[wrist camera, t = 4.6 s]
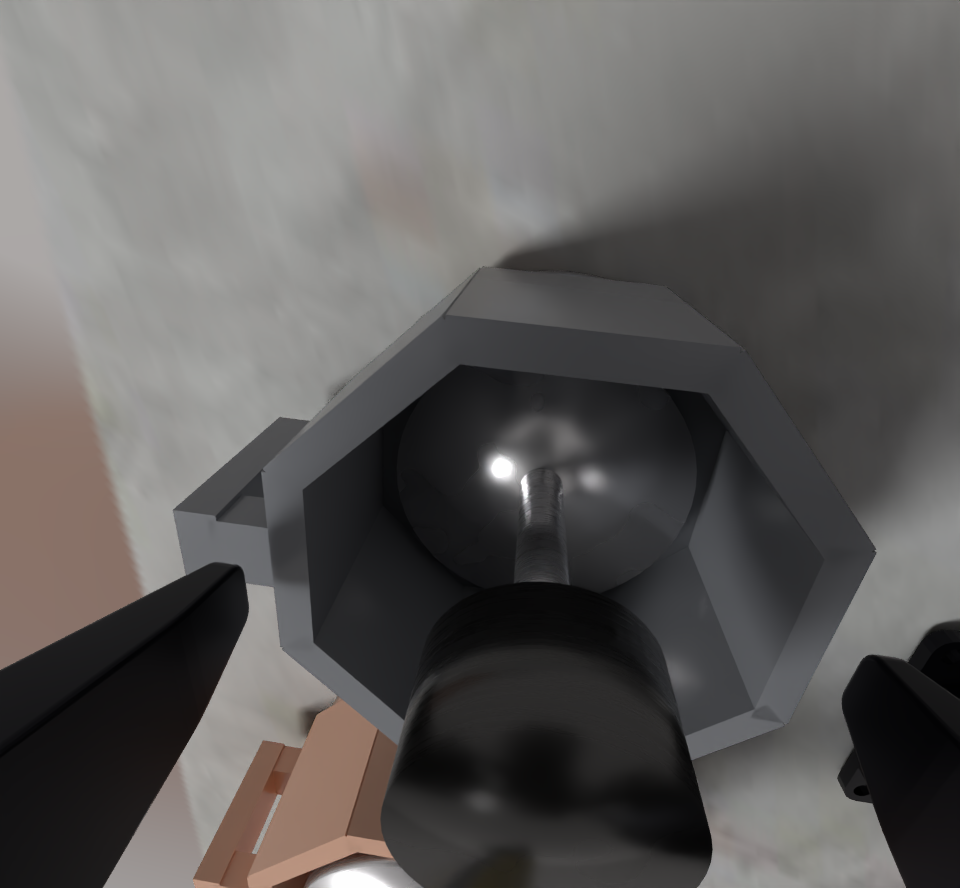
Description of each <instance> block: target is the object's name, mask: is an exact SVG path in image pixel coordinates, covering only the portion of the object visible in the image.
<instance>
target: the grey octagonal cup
mask: <svg viewBox="0 0 960 888" xmlns="http://www.w3.org/2000/svg"><path fill="white" fill-rule="evenodd" d="M460 364H461V365H470V366H478V367H487V368H496V369H504V370H513V371H521V372H530V373H538V374H547V375H555V376H564V377H572V378H581V379H589V380H598V381H607V382H615V383H624V384H632V385H641V386H649V387H658V388H664V389H665V390H666V391H667V392H668V394H669V395H670V397H671V398H672V400H673V402H674V403H675V405H676V406H677V408H678V410H679V411H680V413H681V415H682V416H683V418H684V420H685V422H686V425H687V427H688V430H689V432H690V434H691V437H692V442H693V446H694V450H695V454H696V466H697V477H696V489H695V494H694V498H693V502H692V506H691V509H690V511H689V514H688V516H687V519H686V521H685V523H684V525H683V527H682V529H681V530H680V532H679V534H678V536H677V537H676V538H675V540H674V541H673V542H672V544H671V545H670V546H669V548H668V549H667V550H666V551H665V552H664V553H663V554H662V555H661V556H660V557H659V558H658V559H657V560H656V561H655V562H654V563H653V564H652V565H650V566H649V567H648V568H646V569H645V570H644V571H643V572H641V573H640V574H638V575H637V576H635V577H633V578H632V579H630V580H628V581H627V582H625V583H623V584H620V585H618V586H616V587H614V588H612V589H610V590H607V591H604V592H601V593H599V594H601V595H603V596H606V597H608V598H610V599H612V600H614V601H615V602H617V603H619V604H621V605H622V606H624V607H625V608H627V609H628V610H629V611H631V612H632V613H633V614H635V615H636V616H637V617H638V618H639V619H640V620H641V621H642V622H643V623H644V624H645V625H646V626H647V627H648V628H649V629H650V631H651V632H652V633H653V635H654V636H655V637H656V639H657V641H658V643H659V645H660V647H661V649H662V651H663V654H664V657H665V660H666V664H667V668H668V672H669V676H670V680H671V683H672V687H673V691H674V695H675V699H676V703H677V707H678V710H679V714H680V718H681V722H682V726H683V730H684V733H685V737H686V741H687V745H688V749H689V753H690V757H691V760H694V759H696V758H699V757H702V756H704V755H707V754H710V753H713V752H715V751H718V750H721V749H723V748H726V747H729V746H732V745H734V744H737V743H740V742H742V741H745V740H748V739H751V738H753V737H756V736H759V735H761V734H764V733H767V732H770V731H772V730H775V729H778V728H780V727H783V726H785V724H784V723H786V724H788V722H789V720H790V718H791V717H792V715H793V713H794V711H795V709H796V707H797V705H798V703H799V701H800V699H801V697H802V695H803V693H804V691H805V690H806V688H807V686H808V684H809V682H810V680H811V678H812V676H813V674H814V672H815V670H816V668H817V666H818V665H819V663H820V661H821V659H822V657H823V655H824V653H825V651H826V649H827V647H828V645H829V643H830V641H831V640H832V638H833V636H834V634H835V632H836V630H837V628H838V626H839V624H840V622H841V620H842V618H843V616H844V614H845V613H846V611H847V609H848V607H849V605H850V603H851V601H852V599H853V597H854V595H855V593H856V591H857V589H858V588H859V586H860V584H861V582H862V580H863V578H864V576H865V574H866V572H867V570H868V568H869V566H870V564H871V563H872V561H873V559H874V557H875V555H876V552H875V551H874V550H876V548H875V546H874V545H873V543H872V542H871V540H870V539H869V537H868V536H867V534H866V533H865V531H864V530H863V528H862V527H861V525H860V524H859V522H858V521H857V519H856V517H855V516H854V514H853V513H852V511H851V510H850V508H849V507H848V505H847V504H846V502H845V501H844V499H843V498H842V496H841V495H840V493H839V492H838V490H837V488H836V487H835V485H834V484H833V482H832V481H831V479H830V478H829V476H828V475H827V473H826V472H825V470H824V469H823V467H822V466H821V464H820V463H819V461H818V459H817V458H816V456H815V455H814V453H813V452H812V450H811V449H810V447H809V446H808V444H807V443H806V441H805V440H804V438H803V437H802V435H801V434H800V432H799V430H798V429H797V427H796V426H795V424H794V423H793V421H792V420H791V418H790V417H789V415H788V414H787V412H786V411H785V409H784V408H783V406H782V405H781V403H780V402H779V400H778V398H777V397H776V395H775V394H774V392H773V391H772V389H771V388H770V386H769V385H768V383H767V382H766V380H765V379H764V377H763V376H762V374H761V373H760V371H759V369H758V368H757V366H756V365H755V363H754V362H753V360H752V359H751V357H750V356H749V354H748V353H747V351H746V350H745V349H744V348H743V347H741V346H740V345H739V344H738V343H736V342H735V341H734V340H733V339H731V338H730V337H729V336H728V335H726V334H725V333H724V332H723V331H721V330H720V329H719V328H718V327H716V326H715V325H714V324H712V323H711V322H710V321H709V320H707V319H706V318H705V317H704V316H702V315H701V314H700V313H699V312H697V311H696V310H695V309H694V308H692V307H691V306H690V305H689V304H687V303H686V302H685V301H684V300H682V299H681V298H680V297H679V296H677V295H676V294H675V293H674V292H672V291H671V290H670V289H669V288H667V287H665V286H663V285H654V284H644V283H635V282H626V281H616V280H608V279H605V278H602V277H599V276H594V275H588V274H582V273H577V272H571V271H544V270H543V271H533V272H531V271H522V270H512V269H503V268H494V267H484V266H483V267H482V268H479V269H477V270H476V271H475V272H474V273H473V274H472V275H470V276H469V277H468V278H467V279H466V280H465V281H464V282H462V283H461V284H460V285H459V286H458V287H457V288H456V289H454V290H453V291H452V292H451V293H450V294H449V295H447V296H446V297H445V298H444V299H443V300H442V301H441V302H439V303H438V304H437V305H436V306H435V307H434V308H432V309H431V310H430V311H429V312H427V313H426V314H425V315H423V316H422V317H421V318H420V319H419V320H418V321H417V322H416V323H415V324H414V325H413V326H412V327H411V328H409V329H408V330H407V331H406V332H405V333H404V334H403V335H401V336H400V337H399V338H398V339H397V340H396V341H394V342H393V343H392V344H391V345H390V346H389V347H388V348H386V349H385V350H384V351H383V352H382V353H381V354H380V355H378V356H377V357H376V358H375V359H374V360H373V361H371V362H370V363H369V364H368V365H367V366H366V367H365V368H363V369H362V370H361V371H360V372H359V373H358V374H357V375H356V376H355V377H354V378H353V379H352V380H351V381H350V382H349V383H348V384H347V385H346V386H345V387H344V388H343V389H342V390H341V391H340V392H339V393H338V394H337V395H336V396H335V397H334V398H333V399H332V400H331V401H330V402H329V403H328V404H327V405H326V406H325V407H324V408H323V409H322V410H321V411H320V412H319V413H318V414H317V415H316V416H315V417H314V418H313V419H312V420H311V421H306V420H298V419H290V418H282V417H279V418H278V419H277V420H276V421H275V422H274V423H272V424H271V425H270V426H269V427H268V428H267V429H266V430H264V431H263V432H262V433H261V434H260V435H259V436H257V437H256V438H255V439H254V440H253V441H252V442H251V443H249V444H248V445H247V446H246V447H245V448H244V449H243V450H241V451H240V452H239V453H238V454H237V455H236V456H234V457H233V458H232V459H231V460H230V461H229V462H228V463H226V464H225V465H224V466H223V467H222V468H221V469H219V470H218V471H217V472H216V473H215V474H214V475H213V476H211V477H210V478H209V479H208V480H207V481H206V482H205V483H203V484H202V485H201V486H200V487H199V488H198V489H196V490H195V491H194V492H193V493H192V494H191V495H190V496H188V497H187V498H186V499H185V500H184V501H183V502H182V503H180V504H179V505H178V506H177V507H176V508H175V509H173V513H174V518H175V523H176V528H177V533H178V538H179V543H180V548H181V553H182V558H183V563H184V568H185V573H186V575H187V574H189V573H191V572H193V571H195V570H197V569H199V568H201V567H203V566H205V565H207V564H209V563H212V562H223V563H230V564H237V565H239V566H241V567H242V569H243V571H244V575H245V582H246V583H249V584H255V585H262V586H269V587H274V593H275V602H276V611H277V620H278V629H279V638H280V647H283V649H282V650H283V651H284V652H286V653H287V654H288V655H289V656H290V657H292V658H293V659H294V660H295V661H296V662H298V663H299V664H300V665H301V666H302V667H304V668H305V669H306V670H307V671H309V672H310V673H311V674H312V675H313V676H315V677H316V678H317V679H318V680H319V681H321V682H322V683H323V684H324V685H325V686H327V687H328V688H329V689H330V690H331V691H333V692H334V693H335V694H336V695H337V696H339V697H340V698H341V699H342V700H343V701H345V702H346V703H347V704H348V705H350V706H351V707H352V708H353V709H354V710H356V711H357V712H358V713H359V714H360V715H362V716H363V717H364V718H365V719H366V720H368V721H369V722H370V723H371V724H372V725H374V726H375V727H376V728H377V729H378V730H380V731H381V732H382V733H383V734H384V735H386V736H387V737H388V738H389V739H391V740H392V741H393V742H394V743H395V744H397V745H398V743H399V739H400V735H401V731H402V728H403V724H404V720H405V716H406V712H407V708H408V705H409V701H410V697H411V693H412V689H413V685H414V682H415V678H416V674H417V670H418V666H419V662H420V659H421V655H422V651H423V647H424V644H425V641H426V638H427V636H428V634H429V633H430V631H431V629H432V627H433V626H434V625H435V623H436V622H437V621H438V619H439V618H440V617H441V616H442V615H443V614H444V613H445V612H446V611H448V610H449V609H450V608H451V607H452V606H454V605H455V604H457V603H458V602H460V601H461V600H463V599H465V598H467V597H469V596H471V595H473V594H475V593H477V592H480V591H483V590H485V589H484V588H482V587H479V586H477V585H475V584H473V583H471V582H469V581H467V580H465V579H464V578H462V577H460V576H459V575H457V574H456V573H454V572H453V571H451V570H450V569H449V568H447V567H446V566H445V565H444V564H442V563H441V562H440V561H439V560H438V559H437V558H436V557H435V556H433V554H432V553H431V552H430V551H429V550H428V549H427V548H426V547H425V545H424V544H423V543H422V542H421V540H420V539H419V537H418V536H417V534H416V533H415V531H414V530H413V528H412V526H411V524H410V522H409V520H408V518H407V516H406V514H405V511H404V508H403V505H402V502H401V499H400V494H399V489H398V484H397V458H398V449H399V445H400V441H401V437H402V434H403V431H404V429H405V426H406V424H407V422H408V419H409V417H410V415H411V414H412V412H413V410H414V409H415V407H416V405H417V403H418V402H419V400H420V398H421V397H422V395H423V394H424V393H425V392H426V391H427V390H428V389H430V388H431V387H432V386H433V385H435V384H436V383H437V382H438V381H440V380H441V379H442V378H443V377H445V376H446V375H447V374H448V373H450V372H451V371H452V370H454V369H455V368H456V367H457V366H459V365H460Z"/></svg>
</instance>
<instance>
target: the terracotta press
mask: <svg viewBox="0 0 960 888" xmlns="http://www.w3.org/2000/svg"><path fill="white" fill-rule="evenodd" d="M397 747H398V745H397V744H395V743H394V742H393V741H392V740H391V739H389V738H388V737H387V736H386V735H384V734H383V733H382V732H381V731H380V730H378V729H377V728H376V727H375V726H374V725H372V724H371V723H370V722H369V721H368V720H366V719H365V718H364V717H363V716H362V715H360V714H359V713H358V712H357V711H356V710H354V709H353V708H352V707H351V706H350V705H348V704H347V703H346V702H345V701H343V700H342V699H341V698H340V697H339V696H338V697H337V698H336V700H335V701H334V703H333V705H332V706H331V707H329V708H328V709H326V710H324V711H322V712H320V713H319V714H317V715H316V718H315V720H314V722H313V725H312V727H311V729H310V732H309V734H308V736H307V738H306V741H305V743H304V745H303V748H302V749H301V748H294V747H288V746H285V745H284V744H282V743H276V742H270V741H263V742H262V744H261V746H260V748H259V750H258V752H257V754H256V756H255V757H254V759H253V761H252V763H251V765H250V767H249V769H248V771H247V773H246V775H245V777H244V779H243V781H242V783H241V785H240V787H239V789H238V791H237V793H236V795H235V797H234V799H233V801H232V803H231V805H230V807H229V809H228V811H227V813H226V815H225V817H224V819H223V821H222V823H221V825H220V827H219V829H218V830H217V832H216V834H215V836H214V838H213V840H212V842H211V844H210V846H209V848H208V850H207V852H206V854H205V856H204V858H203V860H202V862H201V864H200V866H199V868H198V870H197V872H196V874H195V876H194V878H193V881H194V885H195V888H304V886H305V883H306V880H307V877H308V875H309V874H310V872H311V870H314V869H316V868H319V867H321V866H324V865H326V864H329V863H331V862H334V861H336V860H339V859H341V858H344V857H347V856H349V855H352V854H354V853H357V852H359V853H365V854H371V855H377V856H382V857H388V858H393V856H392V855H391V853H390V851H389V849H388V847H387V846H386V844H385V841H384V837H383V834H382V830H381V821H380V818H381V810H382V804H383V801H384V797H385V793H386V789H387V785H388V781H389V778H390V774H391V770H392V766H393V762H394V758H395V754H396V751H397ZM277 794H279V795H282V797H281V799H280V801H279V804H278V806H277V808H276V811H275V813H274V815H273V818H272V820H271V822H270V825H269V827H268V829H267V832H266V834H265V836H264V839H263V841H262V843H261V845H260V848H259V850H258V852H257V854H251V853H252V851H253V849H254V847H255V844H256V842H257V840H258V837H259V835H260V833H261V831H262V828H263V826H264V824H265V821H266V819H267V817H268V815H269V812H270V810H271V808H272V805H273V803H274V801H275V799H276V796H277Z"/></svg>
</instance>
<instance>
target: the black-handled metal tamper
mask: <svg viewBox="0 0 960 888" xmlns="http://www.w3.org/2000/svg"><path fill="white" fill-rule="evenodd" d="M304 888H423V887H422V886H421V885H419V884H418V883H417V882H416V881H414V880H413V879H412V878H411V877H410V876H409V875H408V874H407V873H406V872H405V871H404V870H403V869H402V868H401V867H400V866H399V865H398V863H397V862H396V860H395V859H394V858H388V857H382V856H377V855H371V854H365V853H359V852H357V853H354V854H352V855H349V856H347V857H344V858H341V859H339V860H336V861H334V862H331V863H329V864H326V865H324V866H321V867H319V868H316V869H314V870H311V872H310V874H309V875H308V877H307V880H306V883H305V886H304Z"/></svg>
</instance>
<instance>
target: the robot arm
mask: <svg viewBox="0 0 960 888" xmlns="http://www.w3.org/2000/svg"><path fill="white" fill-rule="evenodd" d="M248 612H249V603H248V596H247V589H246V582H245V575H244V571H243V569H242V567H241V566H239V565H237V564H230V563H223V562H212V563H209V564H207V565H205V566H203V567H201V568H199V569H197V570H195V571H193V572H191V573H189V574H187V575H186V576H184V577H182V578H180V579H178V580H176V581H174V582H172V583H170V584H168V585H166V586H164V587H162V588H160V589H158V590H156V591H154V592H152V593H150V594H148V595H146V596H144V597H142V598H140V599H139V600H137V601H135V602H133V603H131V604H129V605H127V606H125V607H123V608H121V609H119V610H117V611H115V612H113V613H111V614H109V615H107V616H105V617H103V618H102V619H99V620H97V621H95V622H93V623H92V624H90V625H88V626H86V627H84V628H82V629H80V630H78V631H76V632H74V633H72V634H70V635H68V636H66V637H65V638H62V639H60V640H58V641H56V642H55V643H52V644H50V645H48V646H46V647H45V648H43V649H41V650H39V651H37V652H35V653H33V654H31V655H29V656H27V657H25V658H23V659H21V660H19V661H17V662H15V663H13V664H11V665H9V666H7V667H5V668H3V669H1V670H0V888H103V886H104V885H105V883H106V881H107V879H108V878H109V876H110V874H111V873H112V871H113V869H114V868H115V866H116V864H117V863H118V861H119V859H120V857H121V856H122V854H123V852H124V851H125V849H126V847H127V845H128V844H129V842H130V840H131V839H132V836H133V835H134V833H135V832H136V830H137V828H138V827H139V825H140V823H141V822H142V820H143V818H144V817H145V815H146V813H147V811H148V810H149V808H150V806H151V804H152V803H153V801H154V799H155V798H156V796H157V794H158V793H159V791H160V789H161V788H162V786H163V784H164V782H165V781H166V779H167V777H168V775H169V774H170V772H171V770H172V769H173V767H174V765H175V764H176V762H177V760H178V759H179V757H180V755H181V753H182V752H183V750H184V748H185V747H186V745H187V743H188V741H189V740H190V738H191V736H192V734H193V733H194V731H195V729H196V727H197V725H198V724H199V722H200V720H201V718H202V716H203V714H204V712H205V710H206V708H207V706H208V704H209V702H210V699H211V697H212V695H213V693H214V691H215V689H216V686H217V684H218V682H219V680H220V678H221V676H222V673H223V671H224V669H225V667H226V665H227V662H228V660H229V658H230V656H231V654H232V652H233V649H234V647H235V645H236V643H237V641H238V639H239V636H240V634H241V632H242V630H243V628H244V626H245V623H246V621H247V617H248ZM842 709H843V714H844V717H845V720H846V723H847V726H848V729H849V732H850V735H851V738H852V741H853V744H854V747H855V749H854V751H853V752H852V754H851V755H850V757H849V759H848V760H847V762H846V763H845V765H844V767H843V768H842V770H841V771H840V773H839V775H838V778H837V779H838V781H839V783H840V785H841V787H842V789H843V791H844V793H845V795H846V796H847V797H848V798H849V799H852V800H855V801H860V802H867V803H873V806H874V809H875V812H876V814H877V817H878V820H879V823H880V826H881V828H882V831H883V834H884V836H885V838H886V841H887V843H888V846H889V848H890V851H891V853H892V856H893V858H894V860H895V863H896V865H897V867H898V870H899V872H900V874H901V877H902V879H903V881H904V884H905V886H906V888H960V631H955V630H940V631H937V632H933V633H931V634H930V635H928V636H926V637H925V638H924V639H923V640H922V642H921V643H920V645H919V646H918V648H917V650H916V651H915V653H914V654H913V656H912V658H911V659H910V661H909V662H908V663H907V662H906V661H904V660H902V659H899V658H895V657H888V656H881V655H868V656H866V657H865V658H863V659H862V661H861V662H860V664H859V666H858V667H857V669H856V671H855V673H854V674H853V676H852V678H851V680H850V682H849V683H848V685H847V687H846V689H845V690H844V693H843V696H842Z"/></svg>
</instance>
